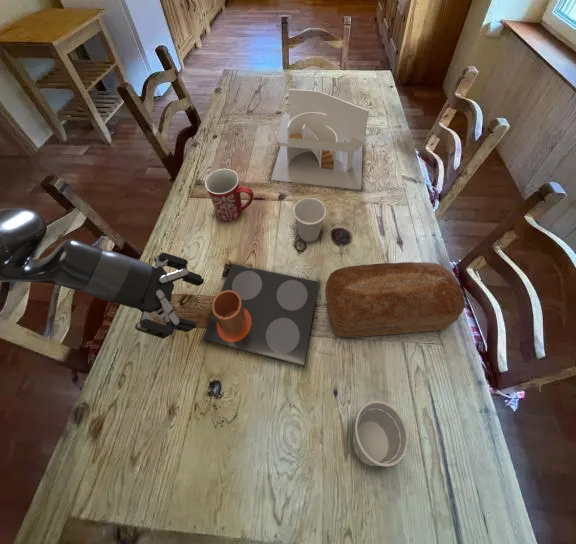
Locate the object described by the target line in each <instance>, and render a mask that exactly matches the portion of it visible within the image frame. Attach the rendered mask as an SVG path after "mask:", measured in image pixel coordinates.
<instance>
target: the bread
mask: <svg viewBox="0 0 576 544" xmlns="http://www.w3.org/2000/svg"><path fill="white" fill-rule="evenodd" d="M324 288H325V289H324V290H325V291H324V292H325V293H324V294H325V299H326V311H327V317H328V320H329V321H328V322H329V325H330V329H331V331H332V333H333V334H334V335H335V336H338V337H345V338H359V337H360V338H361V337H370V336H387V335H388V336H389V335H399V334H406V333H407V334H408V333H417V332H418V333H420V332H436V331H443V330H446V329H448V328H449V327H450V326H451V325H453V324H454V323H456V322H457V321H458V319H459V317H460V316H461V315H462V313H463V311H464V309H465V308H466V300H465V297H464V292H463V291H462V289H461V286H460V284H459V282H458V279H457V277H456V276H454V274H453V273H452V272H451V271H450V270H449V269H447V268H445V267H444V266H443V265H441V264H439V263H437V262H429V261H428V262H427V261H425V262H424V261H423V262H421V261H420V262H415V261H413V262H412V261H411V262H410V261H407V262H406V261H405V262H403V261H402V262H384V263H383V262H381V263H371V264H357V265H349V266H344V267H341V268H338V269H335V270H334V271H332V272H331V273H330V274H329V276H328V278H327V280H326V282H325V287H324Z"/></svg>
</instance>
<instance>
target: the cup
mask: <svg viewBox="0 0 576 544" xmlns="http://www.w3.org/2000/svg"><path fill="white" fill-rule="evenodd" d="M408 433H409V432H408V428H407V425H406V422H405V420H404V419H403V417H402V414H401V413H400V412H399V411H398V410H397V409H396V408H395V407H394V406H392V405H391V404H389V403H388V402H385V401H382V400H371V401H369V402H366V403H365V404H364V405H363V406H362V407H361V408H360V409H359V411H358V413H357V414H356V418H355V424H354V431H353V434H352V445H353V449H354V452H355V454H356V455H357V457H358V459H359V460H360V461H361V462H363V463H364V464H365V465H366V466H370V467H377V466H378V467H392V466H395V465H397V464H398V463H399V462H401V461H402V460H403V458H404V457H405V455H406V453H407V450H408V446H409V434H408Z"/></svg>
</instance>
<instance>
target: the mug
mask: <svg viewBox="0 0 576 544" xmlns="http://www.w3.org/2000/svg"><path fill="white" fill-rule="evenodd" d="M239 182H240V177H239V175H238V173H237V172H236V171H235V170H233V169H231V168H219V169H216V170H213V171H212V172H210V173H209V174H208V175H207V176H206V178H205V180H204V189H205V190H206V191H207V193H208V195H209V198H210V200H211V204H212V205H213V207H214V211H215V212H216V215H217V217H218V219H219V220H220V221H222V222H227V223H231V222H234V221H236V220H238V219H240V217H241V215H242V214H243V211H245V209H247V208H248V207H249V206H250V205H252V202H253V200H254V192H253V189H251V187H248V186H245V185H244V186H240V183H239ZM241 193H245V194H247V195H248V196H249V200H247V201H246V202H245V203H244V204H242V196H241Z"/></svg>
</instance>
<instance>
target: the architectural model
mask: <svg viewBox="0 0 576 544" xmlns="http://www.w3.org/2000/svg"><path fill="white" fill-rule="evenodd" d="M288 107H289V108H288V110H289V112H288V113H287V112H285V113H283V114H282V115H281V119H280V123H279V127H278V132H277V137H276V144H277V145H278V146H280V147H279V150H278V154H277V157H276V160H275V164H274V167H273V171H272V173H271V178H270V180H271V181H277V182H285V183H295V184H305V185H312V186H313V185H314V186H322V187H331V188H340V189H351V190H360V191H362V174H363V149H364V148H363V147H364V146H363V145H364V144H365V143H366V142H367V138H368V136H367V135H366V131H367V125H368V120H369V119H368V118H369V113H370V110H369V109H367V108H365V107H363V106H359V105H357V104H354V103H351V102H349V101H346V100H344V99H342V98H339V97H336V96H333V95H331V94H328V93H326V92H322V91H320V90H314V89H313V90H312V89H298V88H288Z"/></svg>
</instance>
